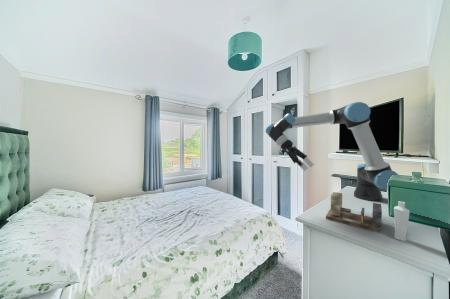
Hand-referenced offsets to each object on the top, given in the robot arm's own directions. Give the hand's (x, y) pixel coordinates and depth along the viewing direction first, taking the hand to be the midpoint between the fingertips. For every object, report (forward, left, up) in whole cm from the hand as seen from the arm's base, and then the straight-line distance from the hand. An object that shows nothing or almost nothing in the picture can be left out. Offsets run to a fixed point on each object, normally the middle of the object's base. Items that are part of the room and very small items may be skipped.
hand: (309, 167), depth 103 cm
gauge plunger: (-8, +16, -22) cm, 28 cm away
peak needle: (-14, +23, -22) cm, 34 cm away
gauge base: (-12, +19, -24) cm, 33 cm away
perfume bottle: (-20, +35, -24) cm, 46 cm away
